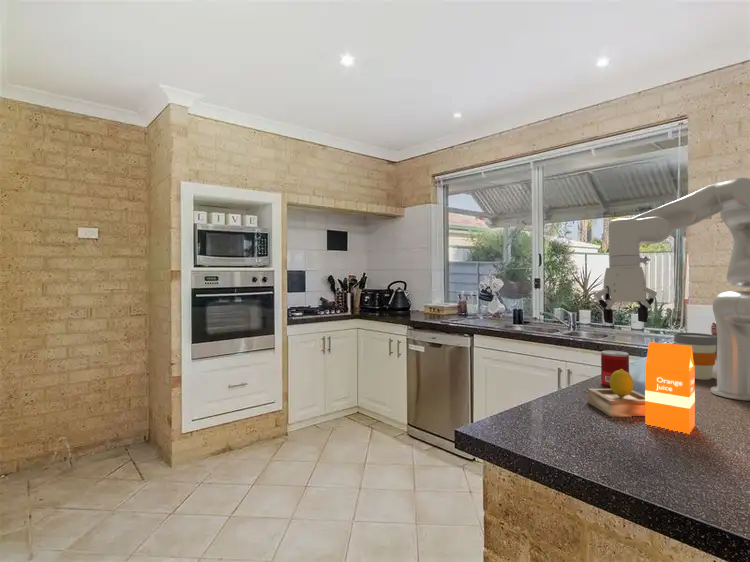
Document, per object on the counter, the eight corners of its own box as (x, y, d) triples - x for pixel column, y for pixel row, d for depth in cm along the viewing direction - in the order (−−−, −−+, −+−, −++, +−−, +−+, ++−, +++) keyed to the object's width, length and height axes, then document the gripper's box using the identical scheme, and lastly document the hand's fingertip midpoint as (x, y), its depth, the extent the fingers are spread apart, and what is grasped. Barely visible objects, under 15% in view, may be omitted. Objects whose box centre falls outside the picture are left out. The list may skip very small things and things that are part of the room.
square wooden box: (630, 402, 120) (630, 388, 120) (657, 416, 108) (657, 401, 108) (587, 402, 120) (587, 388, 120) (610, 416, 108) (610, 401, 108)
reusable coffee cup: (697, 381, 142) (697, 338, 142) (665, 373, 154) (665, 333, 154) (727, 379, 145) (727, 336, 144) (692, 371, 157) (692, 332, 157)
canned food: (632, 388, 134) (632, 354, 134) (605, 387, 136) (605, 354, 135) (623, 382, 141) (623, 350, 141) (598, 381, 143) (598, 350, 143)
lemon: (629, 396, 116) (630, 367, 116) (635, 402, 110) (635, 372, 110) (607, 394, 117) (607, 366, 117) (612, 399, 112) (612, 370, 112)
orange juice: (652, 417, 107) (652, 340, 107) (695, 425, 101) (695, 343, 101) (644, 425, 102) (644, 343, 101) (689, 434, 95) (689, 348, 95)
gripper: (646, 261, 122) (647, 319, 122) (587, 263, 122) (588, 321, 122) (663, 260, 114) (665, 322, 115) (600, 263, 114) (602, 324, 115)
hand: (625, 322), depth 118 cm, fingers open, 9 cm apart
